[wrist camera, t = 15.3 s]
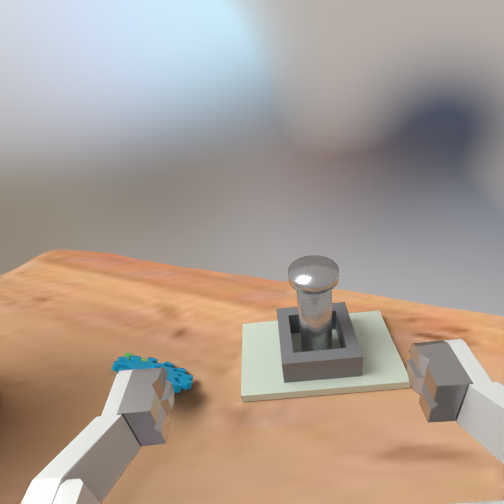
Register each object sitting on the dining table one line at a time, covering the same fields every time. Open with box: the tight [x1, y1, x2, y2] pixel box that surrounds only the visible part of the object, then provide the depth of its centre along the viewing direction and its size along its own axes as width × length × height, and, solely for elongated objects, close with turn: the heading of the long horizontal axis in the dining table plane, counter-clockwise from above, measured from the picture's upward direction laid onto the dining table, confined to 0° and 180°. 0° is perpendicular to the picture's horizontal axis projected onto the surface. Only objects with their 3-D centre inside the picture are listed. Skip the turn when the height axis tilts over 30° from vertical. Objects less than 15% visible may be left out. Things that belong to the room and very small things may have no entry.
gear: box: [112, 353, 193, 393], centre depth 43 cm, size 11×6×10 cm
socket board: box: [241, 302, 411, 402], centre depth 45 cm, size 20×12×5 cm, turn 90°
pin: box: [288, 255, 339, 352], centre depth 42 cm, size 6×6×13 cm
